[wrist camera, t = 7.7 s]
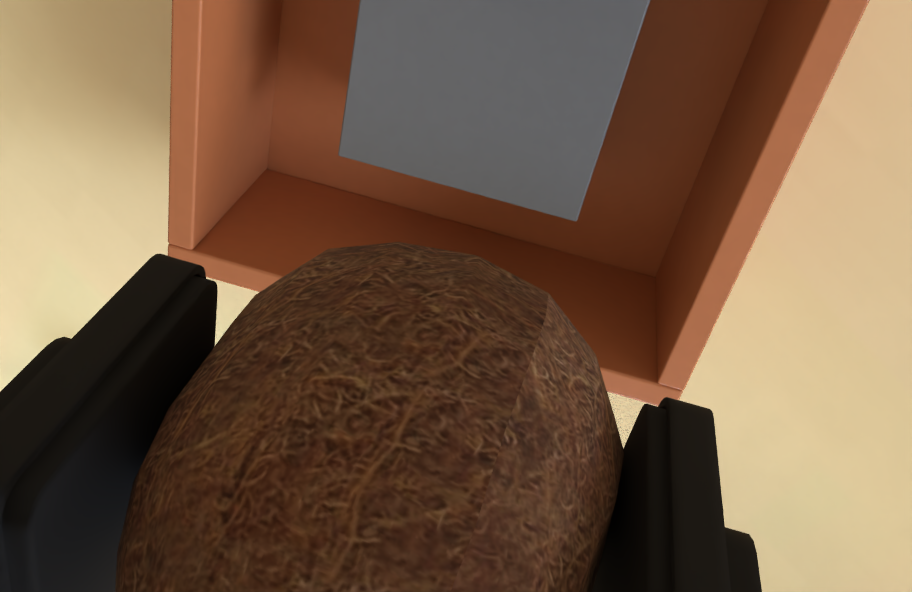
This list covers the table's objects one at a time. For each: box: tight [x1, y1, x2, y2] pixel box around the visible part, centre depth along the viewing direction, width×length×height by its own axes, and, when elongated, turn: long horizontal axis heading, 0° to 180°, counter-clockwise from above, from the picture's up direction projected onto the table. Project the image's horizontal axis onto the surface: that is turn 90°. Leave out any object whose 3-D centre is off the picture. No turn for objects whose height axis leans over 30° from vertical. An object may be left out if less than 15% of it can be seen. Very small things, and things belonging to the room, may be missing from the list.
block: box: [338, 0, 650, 221], centre depth 24 cm, size 7×7×4 cm
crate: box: [168, 0, 870, 406], centre depth 23 cm, size 16×16×7 cm
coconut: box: [115, 242, 624, 592], centre depth 10 cm, size 5×5×8 cm
